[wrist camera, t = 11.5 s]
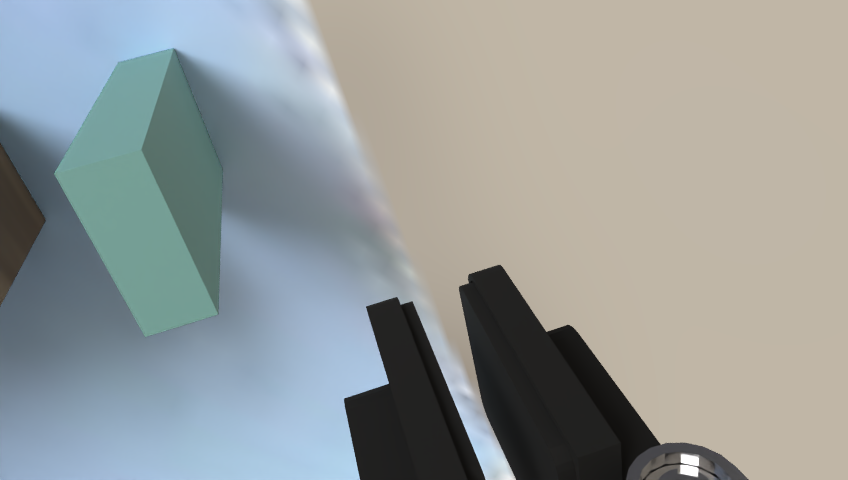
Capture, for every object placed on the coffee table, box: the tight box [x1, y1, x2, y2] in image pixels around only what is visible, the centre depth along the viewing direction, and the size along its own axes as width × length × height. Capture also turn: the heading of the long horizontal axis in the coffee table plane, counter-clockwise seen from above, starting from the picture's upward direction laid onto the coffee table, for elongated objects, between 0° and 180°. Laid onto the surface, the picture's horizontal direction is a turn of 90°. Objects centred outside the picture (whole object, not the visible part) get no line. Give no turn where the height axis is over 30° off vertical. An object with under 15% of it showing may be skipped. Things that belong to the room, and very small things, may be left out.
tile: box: [54, 48, 223, 337], centre depth 21 cm, size 2×5×10 cm, turn 11°
